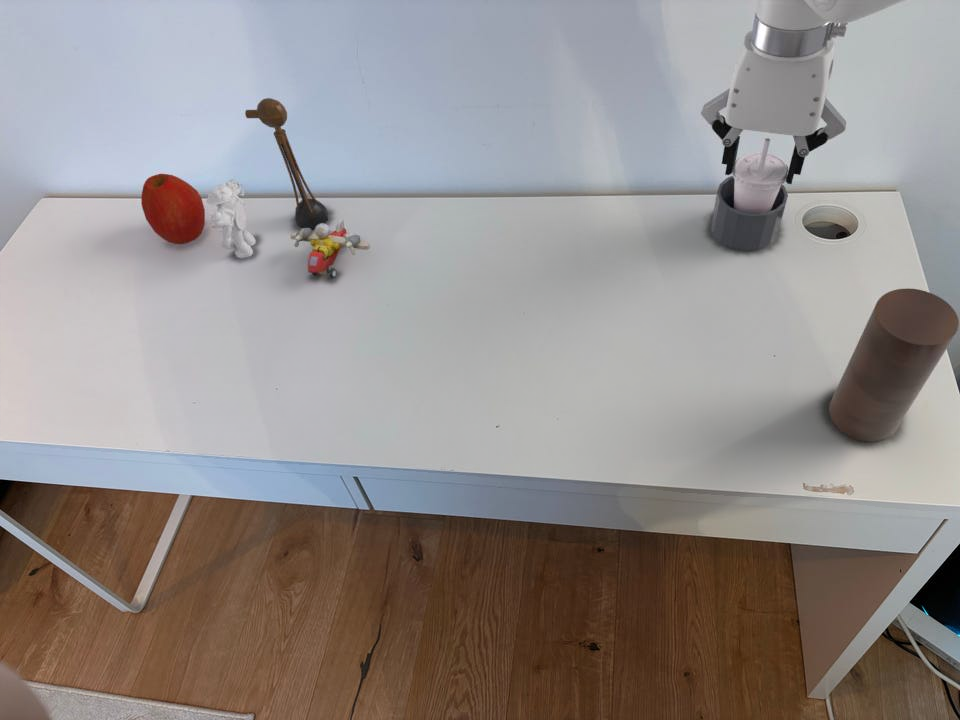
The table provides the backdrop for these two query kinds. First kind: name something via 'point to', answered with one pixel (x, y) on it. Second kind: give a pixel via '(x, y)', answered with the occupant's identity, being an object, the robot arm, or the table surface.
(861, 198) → the table surface
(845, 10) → the robot arm
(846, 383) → the stand
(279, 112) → the wooden tabletop sculpture
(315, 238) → the toy airplane
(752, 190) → the smoothie
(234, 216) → the hat wearing toy figure
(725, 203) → the grey cup holder
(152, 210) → the red oval fruit
